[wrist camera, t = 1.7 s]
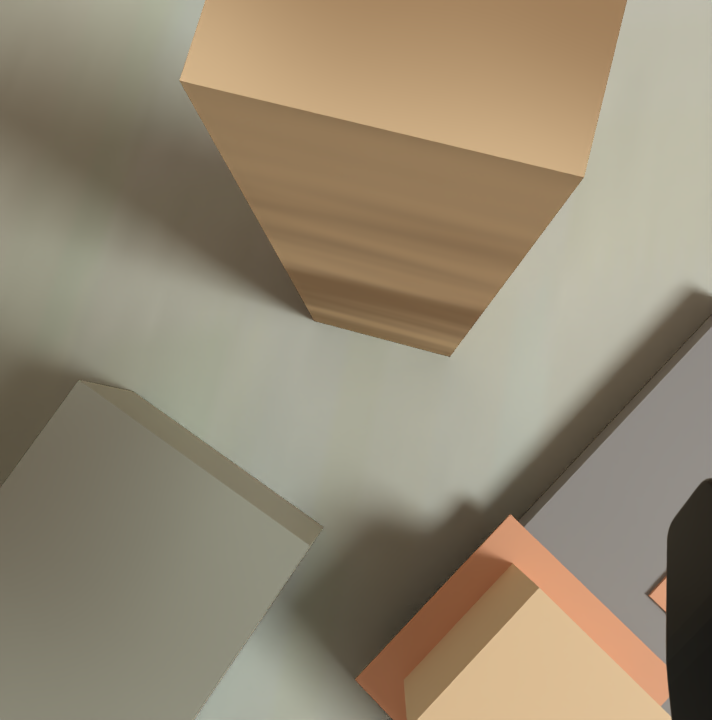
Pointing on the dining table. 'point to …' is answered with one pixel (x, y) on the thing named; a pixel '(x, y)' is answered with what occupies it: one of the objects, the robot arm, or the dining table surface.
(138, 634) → the cover
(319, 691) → the dining table surface
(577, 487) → the board
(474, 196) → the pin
